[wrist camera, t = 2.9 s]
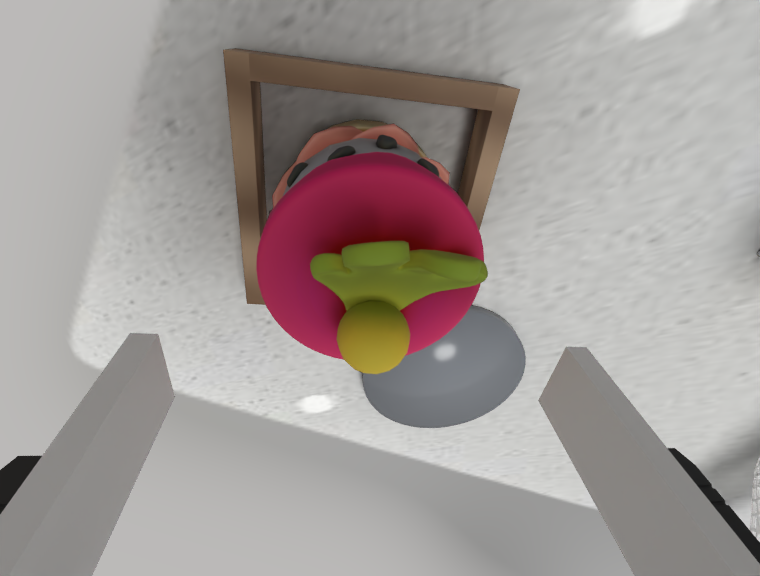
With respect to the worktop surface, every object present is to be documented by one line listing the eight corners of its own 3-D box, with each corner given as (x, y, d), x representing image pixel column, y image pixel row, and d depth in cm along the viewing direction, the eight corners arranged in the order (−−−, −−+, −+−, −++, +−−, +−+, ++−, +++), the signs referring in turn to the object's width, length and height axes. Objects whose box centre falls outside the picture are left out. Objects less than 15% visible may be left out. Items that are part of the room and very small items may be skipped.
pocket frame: (235, 48, 20) (223, 49, 18) (503, 84, 22) (519, 89, 20) (254, 284, 29) (246, 303, 27) (447, 295, 31) (454, 314, 29)
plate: (371, 299, 30) (372, 308, 29) (543, 308, 32) (550, 316, 31) (356, 417, 39) (356, 427, 38) (494, 418, 41) (498, 428, 40)
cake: (437, 257, 29) (507, 425, 16) (299, 269, 28) (263, 450, 16) (442, 107, 23) (558, 191, 10) (268, 119, 22) (174, 223, 10)
